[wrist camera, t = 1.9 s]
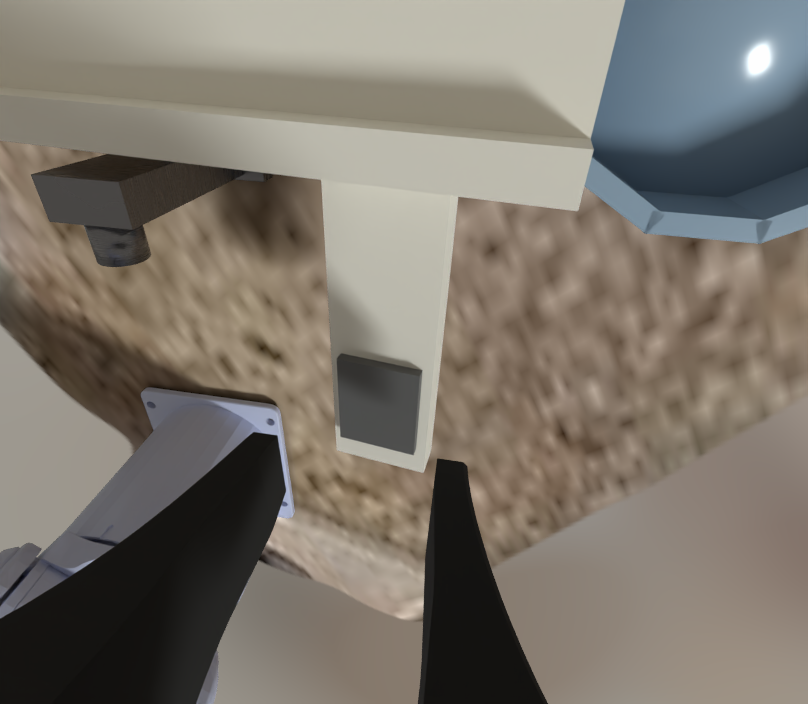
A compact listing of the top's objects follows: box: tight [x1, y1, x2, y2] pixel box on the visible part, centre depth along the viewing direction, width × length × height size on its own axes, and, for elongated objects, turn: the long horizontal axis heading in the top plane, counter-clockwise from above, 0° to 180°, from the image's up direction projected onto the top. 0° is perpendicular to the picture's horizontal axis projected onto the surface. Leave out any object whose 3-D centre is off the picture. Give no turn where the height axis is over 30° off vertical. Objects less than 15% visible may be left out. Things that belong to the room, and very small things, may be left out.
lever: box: [0, 0, 625, 473], centre depth 11 cm, size 17×24×3 cm
